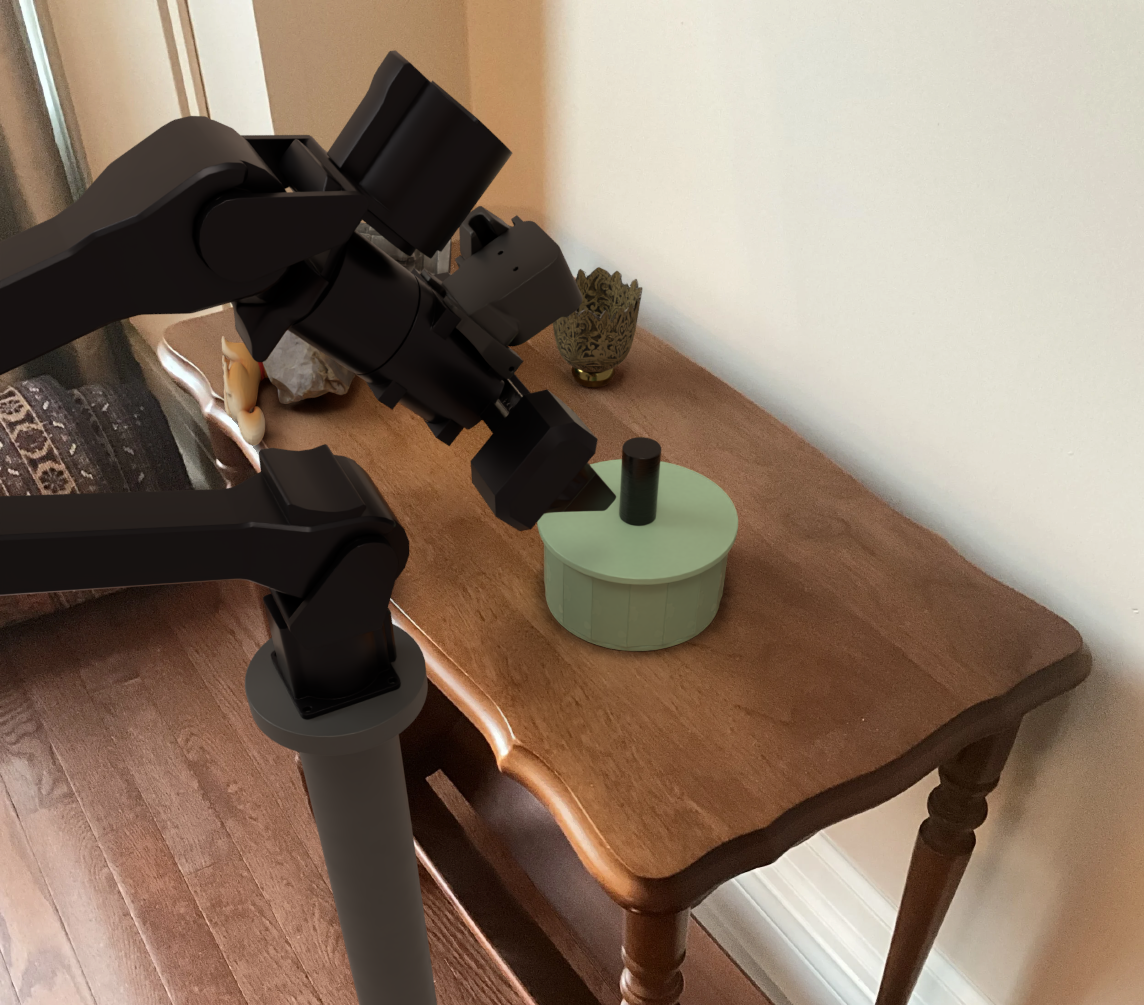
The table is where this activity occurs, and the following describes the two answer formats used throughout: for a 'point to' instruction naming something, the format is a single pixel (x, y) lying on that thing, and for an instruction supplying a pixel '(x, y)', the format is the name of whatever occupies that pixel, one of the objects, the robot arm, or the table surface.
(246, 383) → the toy
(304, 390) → the stone
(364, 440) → the table surface
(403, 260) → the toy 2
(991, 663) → the table surface
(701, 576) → the pot
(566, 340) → the cup
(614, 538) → the lid
